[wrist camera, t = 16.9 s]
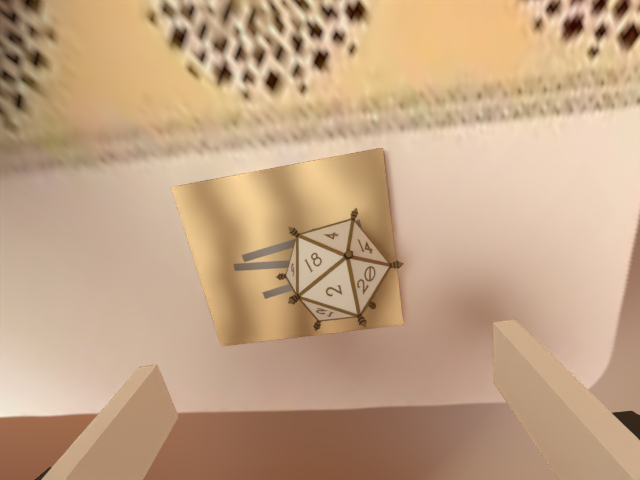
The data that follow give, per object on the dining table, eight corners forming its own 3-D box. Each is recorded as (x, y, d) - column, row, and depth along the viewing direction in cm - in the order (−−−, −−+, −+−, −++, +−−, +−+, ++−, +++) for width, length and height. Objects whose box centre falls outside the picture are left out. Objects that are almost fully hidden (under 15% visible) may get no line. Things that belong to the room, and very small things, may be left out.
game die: (334, 221, 29) (361, 164, 20) (391, 291, 28) (448, 265, 19) (257, 274, 27) (246, 237, 17) (315, 355, 25) (336, 362, 16)
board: (228, 334, 32) (221, 346, 30) (182, 184, 28) (171, 187, 26) (399, 313, 30) (403, 324, 28) (379, 148, 26) (382, 148, 24)
